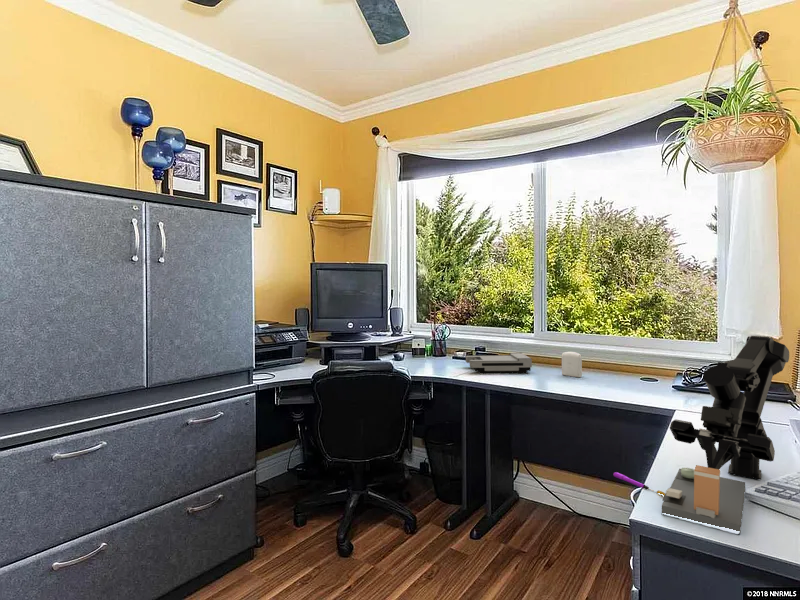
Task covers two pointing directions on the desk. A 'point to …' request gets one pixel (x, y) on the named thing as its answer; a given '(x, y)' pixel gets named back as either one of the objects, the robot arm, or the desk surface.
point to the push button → (687, 473)
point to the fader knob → (707, 488)
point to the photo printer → (572, 364)
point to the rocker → (673, 493)
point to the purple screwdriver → (634, 482)
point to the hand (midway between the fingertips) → (710, 473)
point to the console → (727, 513)
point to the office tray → (500, 363)
